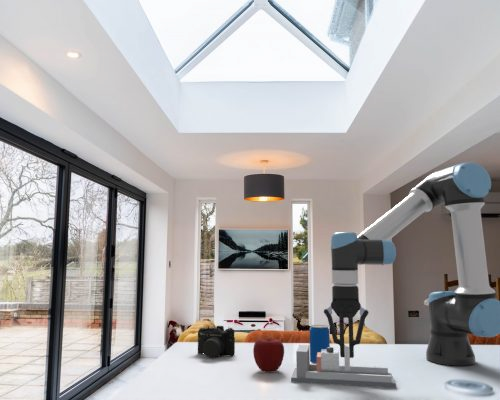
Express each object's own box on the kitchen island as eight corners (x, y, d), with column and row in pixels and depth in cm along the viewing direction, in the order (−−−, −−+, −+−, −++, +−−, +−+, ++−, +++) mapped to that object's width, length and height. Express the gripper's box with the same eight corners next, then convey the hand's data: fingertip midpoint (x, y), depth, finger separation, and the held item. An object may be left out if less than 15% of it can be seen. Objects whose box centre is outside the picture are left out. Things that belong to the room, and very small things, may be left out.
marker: (322, 369, 129) (321, 352, 129) (321, 375, 123) (320, 357, 123) (317, 369, 129) (317, 352, 130) (316, 375, 123) (316, 356, 124)
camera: (188, 357, 152) (188, 328, 153) (201, 351, 162) (202, 324, 163) (225, 361, 147) (225, 330, 148) (236, 354, 157) (236, 326, 158)
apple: (274, 377, 127) (274, 341, 128) (247, 372, 132) (247, 338, 133) (289, 370, 135) (289, 336, 136) (263, 366, 140) (262, 333, 141)
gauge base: (391, 377, 127) (390, 348, 128) (396, 388, 116) (394, 356, 117) (295, 372, 132) (294, 344, 134) (291, 382, 122) (290, 351, 123)
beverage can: (329, 366, 139) (329, 327, 141) (309, 365, 141) (308, 327, 142) (330, 361, 146) (329, 324, 147) (310, 360, 147) (310, 324, 149)
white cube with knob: (339, 371, 127) (338, 346, 128) (339, 376, 122) (338, 350, 123) (322, 370, 128) (321, 345, 129) (321, 375, 123) (320, 349, 124)
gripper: (367, 284, 130) (370, 367, 127) (323, 284, 132) (324, 365, 129) (369, 286, 123) (371, 373, 119) (322, 285, 125) (323, 371, 122)
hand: (347, 369), depth 124 cm, fingers closed
